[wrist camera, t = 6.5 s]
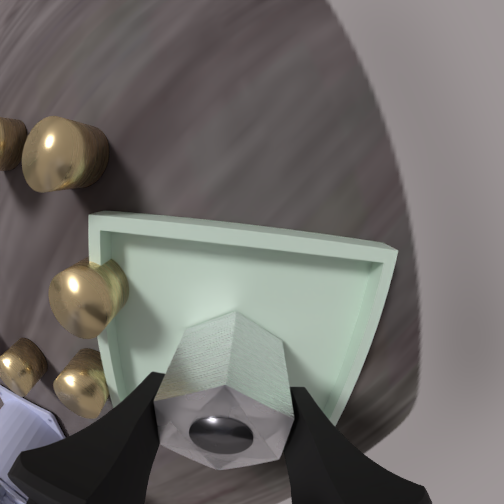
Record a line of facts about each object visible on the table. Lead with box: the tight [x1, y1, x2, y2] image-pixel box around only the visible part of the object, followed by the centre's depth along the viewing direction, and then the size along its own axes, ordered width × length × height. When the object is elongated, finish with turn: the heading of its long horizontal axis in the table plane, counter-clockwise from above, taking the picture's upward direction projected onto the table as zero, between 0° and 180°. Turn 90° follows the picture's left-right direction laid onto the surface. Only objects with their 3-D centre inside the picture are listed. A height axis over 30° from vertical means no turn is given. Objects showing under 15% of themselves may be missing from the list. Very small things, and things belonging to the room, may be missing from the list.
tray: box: [88, 210, 398, 426], centre depth 13 cm, size 13×13×2 cm
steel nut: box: [154, 311, 294, 470], centre depth 10 cm, size 5×4×5 cm
